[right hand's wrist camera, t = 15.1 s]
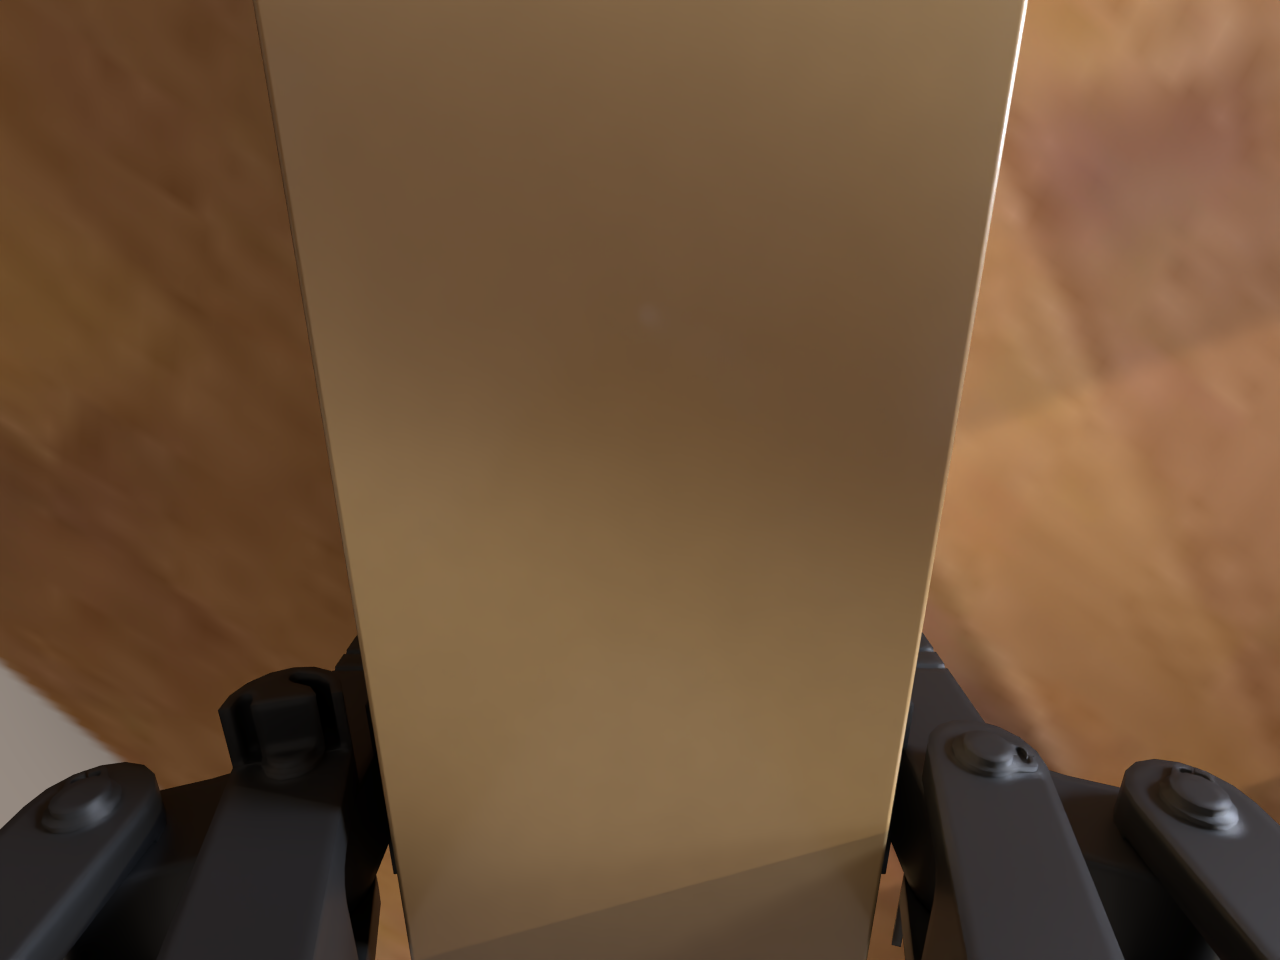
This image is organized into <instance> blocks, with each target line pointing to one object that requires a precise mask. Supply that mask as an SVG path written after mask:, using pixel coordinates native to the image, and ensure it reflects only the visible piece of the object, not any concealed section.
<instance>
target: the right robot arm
mask: <svg viewBox="0 0 1280 960" xmlns="http://www.w3.org/2000/svg"><path fill="white" fill-rule="evenodd" d="M218 712H219V716H220V720H221V724H222V727H223V731H224V735H225V739H226V743H227V747H228V750H229V754H230V758H231V762H232V766H233V769H232V771H231V773H230V774H226V775H223V776H220V777H216V778H213V779H209V780H204V781H200V782H195V783H191V784H187V785H182V786H178V787H173V788H169V789H165V790H159V787H158V783H157V780H156V777H155V774H154V773H153V772H152V771H151V770H149V769H148V768H147V767H146V766H145V765H141V764H135V763H128V762H123V763H115V764H108V765H101V766H98V767H95V768H92V769H89V770H86V771H83V772H80V773H77V774H74V775H72V776H70V777H68V778H67V779H65V780H63V781H61V782H59V783H57V784H55V785H53V786H51V787H50V788H48V789H46V790H45V791H44V792H42V793H41V794H40V795H38V796H37V797H36V798H35V799H33V800H32V801H31V802H29V803H28V804H27V805H25V806H24V807H23V808H22V809H21V810H20V811H19V812H18V813H17V814H16V815H15V816H14V817H13V818H12V819H11V820H10V821H9V822H8V823H6V824H5V825H4V826H3V827H2V828H1V829H0V960H375V954H376V944H377V935H378V925H379V915H380V905H381V901H380V894H379V887H378V882H377V876H376V874H377V871H378V869H379V866H380V864H381V861H382V859H383V856H384V854H385V851H386V849H387V846H388V844H389V849H390V855H391V860H392V866H393V872H394V874H397V869H396V863H395V857H394V851H393V845H392V839H391V833H390V827H389V821H388V815H387V809H386V803H385V797H384V791H383V785H382V779H381V773H380V767H379V761H378V754H377V748H376V742H375V736H374V730H373V724H372V718H371V712H370V706H369V700H368V694H367V688H366V682H365V676H364V670H363V664H362V658H361V652H360V646H359V640H358V634H357V636H356V637H355V639H354V640H353V642H352V643H351V645H350V646H349V648H348V649H347V653H346V654H344V655H343V656H342V658H341V659H340V661H339V662H338V663H337V665H336V666H335V671H332V672H331V671H329V670H325V669H321V668H317V667H295V668H289V669H285V670H281V671H277V672H272V673H269V674H267V675H264V676H262V677H260V678H258V679H255V680H253V681H251V682H249V683H247V684H245V685H244V686H243V687H241V688H240V689H238V690H237V691H236V692H234V693H233V694H231V695H230V696H229V697H228V698H227V700H226V701H225V702H224V703H223V705H222V706H221V707H220V708H219V710H218ZM891 842H892V845H893V847H894V850H895V852H896V855H897V857H898V859H899V862H900V864H901V867H902V869H903V872H904V876H903V882H902V887H901V892H900V898H899V903H898V909H897V914H896V920H895V925H894V931H893V938H892V945H895V946H899V947H901V943H902V938H903V943H904V952H905V960H1280V826H1279V825H1278V824H1277V823H1276V822H1275V821H1274V820H1273V819H1272V818H1271V817H1270V816H1269V815H1268V814H1267V813H1266V812H1265V811H1264V810H1263V809H1262V808H1261V807H1260V806H1258V805H1257V804H1256V803H1255V802H1254V801H1253V800H1251V799H1250V798H1249V797H1247V796H1246V795H1245V794H1243V793H1242V792H1241V791H1240V790H1238V789H1237V788H1236V787H1234V786H1233V785H1231V784H1229V783H1227V782H1225V781H1223V780H1221V779H1220V778H1218V777H1216V776H1214V775H1212V774H1210V773H1208V772H1206V771H1203V770H1200V769H1198V768H1194V767H1191V766H1189V765H1185V764H1182V763H1179V762H1173V761H1165V760H1158V759H1151V760H1145V761H1138V762H1135V763H1134V764H1133V765H1132V766H1131V767H1129V768H1128V769H1127V770H1126V771H1125V774H1124V777H1123V781H1122V784H1121V787H1120V788H1119V787H1115V786H1110V785H1106V784H1102V783H1097V782H1093V781H1088V780H1084V779H1080V778H1075V777H1071V776H1067V775H1063V774H1060V773H1056V772H1053V771H1050V770H1048V768H1047V766H1046V764H1045V763H1044V761H1043V760H1042V759H1041V757H1040V756H1039V754H1038V753H1037V751H1036V750H1034V749H1033V748H1032V747H1031V746H1030V745H1028V744H1027V743H1026V742H1025V741H1023V740H1022V739H1021V738H1020V737H1018V736H1016V735H1014V734H1012V733H1010V732H1008V731H1006V730H1004V729H1002V728H1000V727H998V726H994V725H990V724H986V723H985V722H984V721H983V719H982V718H981V716H980V715H979V713H978V712H977V711H976V709H975V708H974V706H973V705H972V703H971V702H970V700H969V699H968V698H967V696H966V695H965V693H964V692H963V690H962V689H961V687H960V686H959V685H958V683H957V682H956V680H955V679H954V677H953V676H952V674H951V673H950V672H949V670H948V669H947V668H945V667H944V663H943V661H942V660H941V659H940V657H939V656H938V654H937V653H936V652H933V647H932V646H931V644H930V643H929V641H928V640H927V638H926V637H925V635H924V634H923V633H922V634H921V640H920V646H919V652H918V658H917V664H916V670H915V676H914V682H913V688H912V694H911V700H910V706H909V712H908V718H907V724H906V729H905V735H904V741H903V747H902V753H901V759H900V765H899V771H898V777H897V783H896V789H895V795H894V801H893V807H892V813H891V819H890V825H889V831H888V837H887V842H886V848H885V854H884V860H883V866H882V872H881V874H886V868H887V862H888V856H889V851H890V845H891Z"/></svg>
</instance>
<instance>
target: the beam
mask: <svg viewBox="0 0 1280 960" xmlns="http://www.w3.org/2000/svg"><path fill="white" fill-rule="evenodd" d="M253 4H254V10H255V16H256V22H257V28H258V34H259V40H260V46H261V53H262V59H263V65H264V71H265V77H266V83H267V89H268V95H269V101H270V107H271V113H272V119H273V125H274V131H275V137H276V143H277V149H278V155H279V161H280V167H281V174H282V180H283V186H284V192H285V198H286V204H287V210H288V216H289V222H290V228H291V234H292V240H293V246H294V252H295V258H296V264H297V270H298V276H299V282H300V289H301V295H302V301H303V307H304V313H305V319H306V325H307V331H308V337H309V343H310V349H311V355H312V361H313V367H314V373H315V379H316V385H317V391H318V397H319V403H320V410H321V416H322V422H323V428H324V434H325V440H326V446H327V452H328V458H329V464H330V470H331V476H332V482H333V488H334V494H335V500H336V506H337V512H338V518H339V525H340V531H341V537H342V543H343V549H344V555H345V561H346V567H347V573H348V579H349V585H350V591H351V597H352V603H353V609H354V615H355V621H356V627H357V633H358V640H359V646H360V652H361V658H362V664H363V670H364V676H365V682H366V688H367V694H368V700H369V706H370V712H371V718H372V724H373V730H374V736H375V742H376V748H377V754H378V761H379V767H380V773H381V779H382V785H383V791H384V797H385V803H386V809H387V815H388V821H389V827H390V833H391V839H392V845H393V851H394V857H395V863H396V869H397V876H398V882H399V888H400V894H401V900H402V906H403V912H404V918H405V924H406V930H407V936H408V942H409V948H410V954H411V960H867V955H868V950H869V944H870V938H871V932H872V926H873V920H874V914H875V908H876V902H877V896H878V890H879V884H880V878H881V872H882V866H883V860H884V854H885V848H886V842H887V837H888V831H889V825H890V819H891V813H892V807H893V801H894V795H895V789H896V783H897V777H898V771H899V765H900V759H901V753H902V747H903V741H904V735H905V729H906V724H907V718H908V712H909V706H910V700H911V694H912V688H913V682H914V676H915V670H916V664H917V658H918V652H919V646H920V640H921V634H922V628H923V622H924V617H925V611H926V605H927V599H928V593H929V587H930V581H931V575H932V569H933V563H934V557H935V551H936V545H937V539H938V533H939V527H940V521H941V515H942V509H943V504H944V498H945V492H946V486H947V480H948V474H949V468H950V462H951V456H952V450H953V444H954V438H955V432H956V426H957V420H958V414H959V408H960V402H961V396H962V391H963V385H964V379H965V373H966V367H967V361H968V355H969V349H970V343H971V337H972V331H973V325H974V319H975V313H976V307H977V301H978V295H979V289H980V283H981V278H982V272H983V266H984V260H985V254H986V248H987V242H988V236H989V230H990V224H991V218H992V212H993V206H994V200H995V194H996V188H997V182H998V176H999V170H1000V165H1001V159H1002V153H1003V147H1004V141H1005V135H1006V129H1007V123H1008V117H1009V111H1010V105H1011V99H1012V93H1013V87H1014V81H1015V75H1016V69H1017V63H1018V58H1019V52H1020V46H1021V40H1022V34H1023V28H1024V22H1025V16H1026V10H1027V4H1028V0H253Z"/></svg>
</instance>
